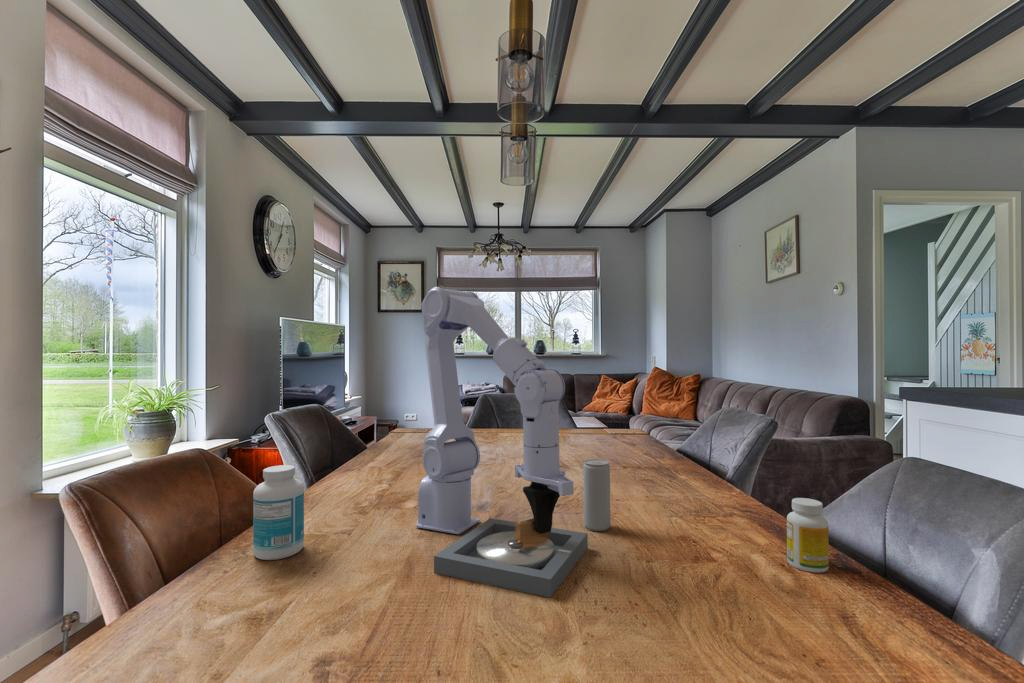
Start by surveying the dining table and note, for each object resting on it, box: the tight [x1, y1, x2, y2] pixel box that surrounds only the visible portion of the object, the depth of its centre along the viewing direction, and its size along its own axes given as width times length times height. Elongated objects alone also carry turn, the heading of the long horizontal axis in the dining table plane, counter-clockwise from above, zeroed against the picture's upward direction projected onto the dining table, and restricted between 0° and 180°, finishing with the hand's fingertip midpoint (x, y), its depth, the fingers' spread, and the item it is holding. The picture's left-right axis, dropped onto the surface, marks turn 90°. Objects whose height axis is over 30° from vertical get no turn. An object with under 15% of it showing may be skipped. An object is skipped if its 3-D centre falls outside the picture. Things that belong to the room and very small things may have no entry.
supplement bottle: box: [786, 497, 830, 574], centre depth 73 cm, size 5×5×10 cm
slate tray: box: [433, 517, 589, 599], centre depth 75 cm, size 18×18×3 cm
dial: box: [477, 516, 554, 569], centre depth 75 cm, size 12×12×5 cm
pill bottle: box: [252, 464, 305, 561], centre depth 78 cm, size 8×7×14 cm
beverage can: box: [582, 458, 611, 532], centre depth 89 cm, size 5×5×12 cm
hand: (542, 531), depth 76 cm, fingers closed, pressing on dial
